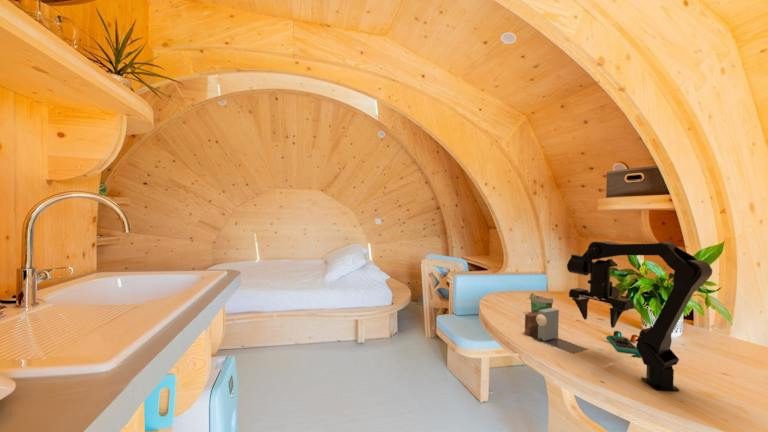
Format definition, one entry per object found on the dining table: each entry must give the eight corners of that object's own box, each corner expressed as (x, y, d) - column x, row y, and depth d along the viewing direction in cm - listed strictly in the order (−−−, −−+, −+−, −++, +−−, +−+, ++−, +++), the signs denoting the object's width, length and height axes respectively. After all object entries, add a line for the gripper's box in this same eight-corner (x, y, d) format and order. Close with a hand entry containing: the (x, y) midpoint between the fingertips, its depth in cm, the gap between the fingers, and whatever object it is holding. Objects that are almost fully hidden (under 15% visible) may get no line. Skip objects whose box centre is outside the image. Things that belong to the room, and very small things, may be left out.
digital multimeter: (627, 343, 134) (627, 336, 134) (641, 359, 120) (642, 350, 120) (605, 341, 136) (605, 334, 136) (617, 356, 122) (617, 348, 122)
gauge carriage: (559, 338, 134) (560, 310, 134) (542, 342, 129) (543, 313, 129) (546, 333, 139) (547, 306, 139) (530, 337, 134) (531, 309, 134)
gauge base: (588, 352, 124) (588, 349, 124) (570, 357, 120) (571, 354, 119) (536, 332, 144) (536, 329, 144) (519, 336, 139) (520, 333, 139)
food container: (523, 313, 170) (523, 293, 170) (532, 312, 172) (532, 292, 172) (544, 321, 159) (544, 299, 158) (553, 319, 161) (553, 298, 161)
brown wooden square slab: (543, 332, 140) (543, 313, 140) (529, 336, 137) (530, 316, 137) (538, 330, 143) (538, 312, 142) (524, 333, 139) (525, 314, 139)
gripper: (643, 281, 112) (642, 328, 112) (587, 271, 128) (586, 312, 129) (624, 284, 107) (623, 333, 107) (568, 273, 123) (567, 316, 123)
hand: (598, 323), depth 117 cm, fingers open, 9 cm apart
